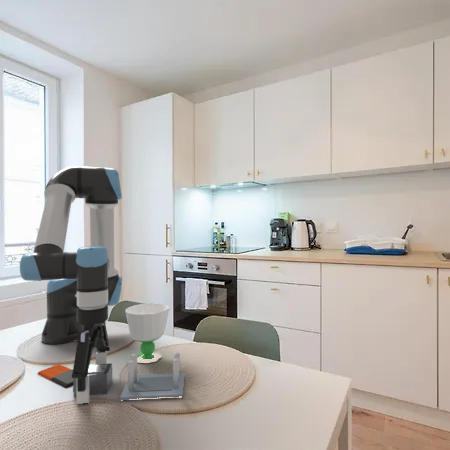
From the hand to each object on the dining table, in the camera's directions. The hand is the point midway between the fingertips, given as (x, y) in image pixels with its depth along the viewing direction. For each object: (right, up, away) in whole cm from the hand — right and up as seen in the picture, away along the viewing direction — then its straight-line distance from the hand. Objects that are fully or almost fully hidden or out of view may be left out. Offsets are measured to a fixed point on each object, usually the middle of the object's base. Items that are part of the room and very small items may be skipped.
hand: (92, 388), depth 81 cm
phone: (-12, -1, +7) cm, 14 cm away
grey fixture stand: (+16, 0, 0) cm, 16 cm away
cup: (+10, 0, +19) cm, 21 cm away
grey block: (0, 0, 0) cm, 0 cm away
